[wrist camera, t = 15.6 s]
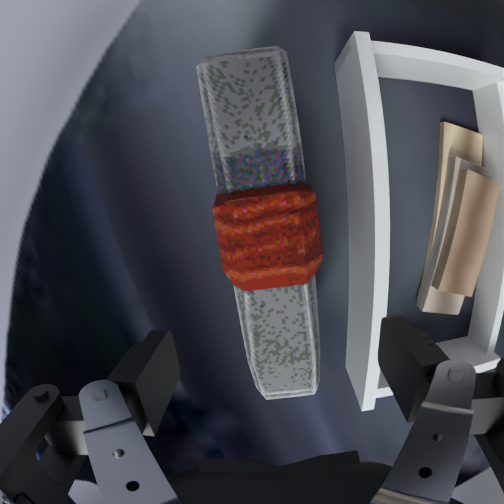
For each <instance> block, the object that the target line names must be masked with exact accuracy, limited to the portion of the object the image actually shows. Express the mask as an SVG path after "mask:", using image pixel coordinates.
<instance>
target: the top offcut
mask: <svg viewBox="0 0 504 504" xmlns="http://www.w3.org/2000/svg"><path fill="white" fill-rule="evenodd" d="M499 186H500V184H499V183H497V182H495V181H493V180H491V179H488V178H486V177H484V176H482V175H480V174H478V173H475V172H473V171H471V170H469V169H459V171H458V177H457V183H456V188H455V194H454V199H453V204H452V208H451V213H450V217H449V222H448V226H447V230H446V234H445V238H444V242H443V246H442V250H441V253H440V257H439V260H438V264H437V267H436V270H435V274H434V277H433V280H432V283H431V286H433V287H434V288H435V289H437V290H439V291H444V292H449V293H454V294H459V295H464V296H469V297H472V294H473V291H474V288H475V285H476V282H477V279H478V276H479V273H480V269H481V266H482V262H483V259H484V255H485V252H486V248H487V244H488V240H489V236H490V232H491V228H492V223H493V218H494V214H495V209H496V203H497V198H498V192H499Z"/></svg>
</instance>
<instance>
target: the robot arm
mask: <svg viewBox="0 0 504 504" xmlns="http://www.w3.org/2000/svg"><path fill="white" fill-rule="evenodd" d="M378 364H379V367H380V369H381V371H382V373H383V375H384V377H385V379H386V381H387V383H388V385H389V387H390V389H391V391H392V393H393V395H394V397H395V399H396V401H397V403H398V405H399V407H400V409H401V411H402V413H403V415H404V417H405V419H406V421H407V423H409V422H413V421H414V423H413V426H412V428H411V430H410V432H409V434H408V437H407V439H406V441H405V443H404V445H403V447H402V449H401V451H400V453H399V455H398V457H397V459H396V461H395V463H394V465H393V467H391V466H389V465H385V464H382V463H377V462H371V461H360V459H359V455H358V452H357V451H351V452H344V453H337V454H329V455H320V456H317V457H313V458H310V459H306V460H303V461H299V462H295V463H292V464H288V465H284V466H273V465H266V464H260V463H254V462H249V461H244V460H232V459H206V458H201V463H200V467H199V469H193V470H188V471H184V472H181V473H177V474H175V475H172V476H170V477H168V478H165V476H164V474H163V473H162V471H161V469H160V467H159V466H158V464H157V462H156V460H155V459H154V457H153V455H152V453H151V451H150V449H149V448H148V446H147V444H146V442H145V440H144V438H143V436H142V435H148V436H155V434H156V431H157V429H158V427H159V424H160V422H161V419H162V417H163V415H164V412H165V410H166V408H167V405H168V403H169V401H170V398H171V396H172V394H173V391H174V389H175V387H176V384H177V382H178V379H179V373H180V369H179V362H178V358H177V354H176V349H175V344H174V340H173V335H172V333H171V331H158V330H152V331H150V332H149V334H148V335H147V336H146V338H145V339H144V341H143V342H139V343H137V344H136V345H134V346H133V347H131V348H130V349H129V350H128V351H127V353H126V354H125V355H124V357H123V358H122V359H121V361H120V363H118V365H117V366H116V367H115V369H114V370H113V371H112V373H111V374H110V375H109V377H108V378H107V379H106V380H102V381H96V382H93V383H90V384H88V385H86V386H85V387H84V388H83V389H82V390H81V391H80V393H79V396H72V397H61V395H60V392H59V390H58V388H57V387H56V386H54V385H51V384H43V385H39V386H36V387H34V388H32V389H31V390H29V391H28V392H27V393H26V395H25V396H24V397H23V398H22V399H21V400H20V401H19V403H18V404H17V405H16V406H15V407H14V408H13V409H12V411H11V412H10V413H9V414H8V415H7V417H6V418H5V419H4V420H3V421H2V422H1V424H0V504H63V503H64V501H65V499H66V497H67V495H68V492H69V490H70V488H71V486H72V484H73V482H74V480H75V478H76V476H77V474H78V472H79V470H80V468H81V466H82V464H83V462H84V460H85V458H86V456H87V455H89V458H90V461H91V465H92V468H93V471H94V474H95V478H96V481H97V484H98V487H99V490H100V492H101V495H102V498H103V501H104V503H105V504H463V503H461V502H459V501H457V500H455V499H453V498H451V495H452V492H453V490H454V487H455V484H456V481H457V477H458V474H459V471H460V468H461V464H462V461H463V457H464V453H465V449H466V445H467V441H468V437H469V435H474V436H475V438H476V440H477V441H478V443H479V445H480V447H481V449H482V451H483V452H484V454H485V456H486V458H487V460H488V462H489V464H490V466H491V468H492V470H493V471H494V474H495V476H496V478H497V480H498V482H499V484H500V486H501V488H502V490H503V492H504V358H503V359H501V360H500V361H499V362H498V363H497V366H496V369H495V372H491V373H476V370H475V368H474V367H473V366H472V365H471V364H469V363H467V362H465V361H461V360H450V359H449V358H448V356H447V355H446V354H445V353H444V352H443V351H442V349H441V348H440V347H439V346H438V345H437V344H436V343H435V342H434V340H433V339H431V337H430V336H429V335H428V334H427V333H426V332H425V331H424V330H423V329H421V328H419V327H417V326H415V325H413V326H411V325H410V324H409V323H408V321H407V320H406V319H405V318H404V317H403V316H402V315H397V316H389V317H383V318H382V320H381V326H380V337H379V346H378ZM44 436H45V438H46V440H47V441H48V443H49V446H48V447H47V449H46V450H45V452H44V454H43V455H42V457H41V458H40V460H39V461H38V460H37V457H36V449H37V447H38V445H39V444H40V442H41V441H42V439H43V438H44Z"/></svg>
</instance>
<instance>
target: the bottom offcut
mask: <svg viewBox="0 0 504 504" xmlns="http://www.w3.org/2000/svg"><path fill="white" fill-rule="evenodd" d="M482 140H483V135H482V134H479V133H477V132H474V131H471V130H468V129H465V128H462V127H459V126H456V125H453V124H450V123H447V122H440V146H439V163H438V176H437V187H436V196H435V205H434V212H433V220H432V226H431V233H430V239H429V245H428V250H427V256H426V261H425V266H424V271H423V275H422V280H421V284H420V289H419V293H418V297H417V299H418V298H419V295H420V291H421V288H422V285H423V281H424V277H425V274H426V270H427V266H428V262H429V258H430V254H431V250H432V246H433V242H434V237H435V233H436V228H437V223H438V218H439V213H440V207H441V202H442V196H443V189H444V183H445V176H446V168H447V160H448V157H458V158H461V159H463V160H466V161H469V162H471V163H474V164H476V165H479V166H482Z"/></svg>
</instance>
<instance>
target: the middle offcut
mask: <svg viewBox="0 0 504 504" xmlns="http://www.w3.org/2000/svg"><path fill="white" fill-rule="evenodd" d="M459 169H469V170H471V171H473V172H475V173H478V174H480V175H482V176H484V177H486V178H488V179H490V178H491V170H488V169H486V168H484V167H481V166H479V165H476V164H474V163H471V162H469V161H466V160H463V159H461V158H458V157H448V160H447V168H446V176H445V183H444V189H443V196H442V202H441V207H440V213H439V218H438V223H437V228H436V233H435V237H434V242H433V246H432V250H431V254H430V258H429V262H428V266H427V270H426V274H425V277H424V281H423V285H422V288H421V291H420V295H419V298H418V301H417V305H416V306H417V307H418V308H419V309H420V310H421V311H423V312H433V313H443V314H453V315H459V312H460V309H461V306H462V303H463V300H464V297H465V296H464V295H459V294H454V293H449V292H444V291H439V290H437V289H435V288H434V287H433V286H431V283H432V280H433V277H434V274H435V270H436V267H437V264H438V260H439V257H440V253H441V250H442V246H443V242H444V238H445V234H446V230H447V226H448V222H449V217H450V213H451V208H452V204H453V199H454V194H455V188H456V183H457V177H458V171H459Z"/></svg>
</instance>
